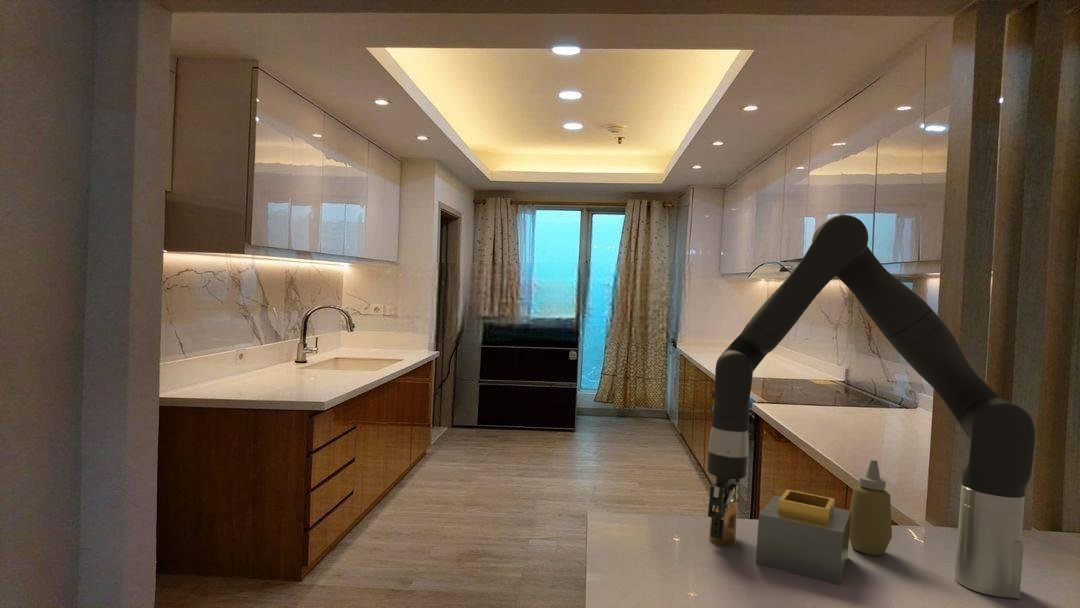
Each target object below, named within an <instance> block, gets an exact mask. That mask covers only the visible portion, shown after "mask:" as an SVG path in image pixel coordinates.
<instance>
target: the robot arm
mask: <svg viewBox="0 0 1080 608" xmlns="http://www.w3.org/2000/svg"><path fill="white" fill-rule="evenodd" d="M868 244H869V232H868V228H867V227H866V225H865V224H864V222H863V221H862V220H860V219H859V218H857V217H856V216H854V215H850V214H838V215H833V216H831V217H829V218H826V220H824V221H822V223H820V225H819V226H818V228H817V229H816V230H815V231H814V234H813V237H812V240H811V244H810V246H809V248H808V249H807V250H806V253H805V254H804V255H803V256H802V258H801V260H800V262H799V263H798V264H797V266H796V267H795V268H794V269H793V271H792V272H791V273H790V274H789V276H788V277H787V278H786V279H785V280H784V281H783V282H782V284H781V285H779V286H778V287H777V289H776V290H774V292H773V293H772V294H771V295H770V296H769V297H768V298H767V299H766V300H765V301H764V302H763V304H762V305H761V306H760V308H759V309H758V310H757V311H756V313H754V314H753V316H752V317H751V318H750V319H749V321H748V322H747V323H746V325H745V326H744V328H743V330H742V331H741V332H740V334H739V335H737V337H736V338H735V339H734V340H733V341H732V342H731V343H730V344H729V345H728V346H727V348H725V350H724V351H723V352H722V353H721V355H720V356H719V357H718V358H717V360H716V362H715V369H714V371H715V372H714V379H715V380H714V402H713V407H712V415H711V416H712V417H711V429H710V434H709V439H708V450H707V451H708V454H707V467H706V470H707V472H708V473H709V474H710V475H712V476H714V477H715V478H716V480H715V483H713V485H712V484H711V485H710V487H709V500H708V508H707V509H708V511H707V516H708V517H709V518H712V521H711V537H712V538H716V539H722V537H723V527H724V519H725V513H726V510H729V508H730V503H731V500H732V499H733V500H735V501H737V502H738V503H739V502H740V490H741V489H740V487H741V480H742V479H744V478H746V476H747V472H748V471H747V469H748V460H749V459H748V456H749V446H750V445H749V442H750V440H749V439H750V438H749V423H750V405H749V404H750V398H751V392H752V385H753V376H754V374H753V373H754V372H755V370H756V368H758V366H759V365H760V363H761V362H762V361H763V359H764V358H765V357H766V356H767V355H768V354H769V353H771V352H772V351H774V350H775V348H777V346H778V345H779V344H780V343H781V342H782V341H783V340H784V338H785V337H786V336H787V334H788V333H789V332H790V331H791V330H792V329H793V327H794V326H795V325H796V324H797V322H798V321H799V320H800V318H801V317H802V316H803V315H804V313H805V311H806V310H808V307H809V306H810V305H811V304H812V303H813V301H814V300H815V298H816V297H817V296H818V295H819V294H820V293H821V292H822V290H823V289H824V288H825V287H826V286H827V285H828V284H829V283H830V282H831V281H832V280H833V279H834V278H835V277H837V278H838V279H839V280H840V281H841V282H842V283H843V284H844V285H845V286H846V287H847V288H848V290H850V292H851V293H852V294H853V295H854V297H855V298H856V299H857V300H858V302H859V304H860V305H861V307H862V308H863V310H865V312H866V313H867V315H868V316H869V318H870V319H871V321H873V323H874V324H875V326H877V328H878V330H879V331H880V332H881V334H882V335H883V336H884V337H885V338H886V339H887V341H888V342H889V343H890V344H891V346H892V347H893V348H894V349H895V350H896V351H897V352H898V354H899V355H900V356H901V357H902V358H903V359H904V360H905V362H907V364H908V365H909V366H910V367H911V368H912V369H913V370H914V371H915V372H917V374H918V375H919V376H921V378H922V379H923V380H924V381H926V382H927V384H929V385H930V387H931V388H933V389H934V391H935V392H936V393H937V394H938V396H939V397H940V398H941V400H942V401H943V402H944V404H945V405H946V406H947V408H948V410H950V412H951V414H952V415H953V417H954V419H955V420H956V421H957V422H958V425H959V426H960V428H961V429H962V430H963V432H964V434H965V435H966V437H968V438H969V440H970V447H969V456H968V463H967V465H966V467H964V469H963V470H962V473H961V485H960V487H961V488H960V498H959V499H960V500H959V515H958V528H957V540H956V553H955V554H956V555H955V566H954V579H955V581H956V582H957V583H958V584H960V585H961V586H963V587H965V588H967V589H970V590H972V591H975V592H977V593H981V594H983V595H987V596H993V597H998V598H1012V599H1017V600H1020V599H1021V598H1020V597H1021V588H1022V587H1021V584H1022V573H1023V561H1024V560H1023V559H1024V547H1025V546H1024V542H1023V540H1022V539H1023V529H1024V528H1023V526H1024V525H1023V524H1024V510H1025V500H1026V499H1025V496H1026V488H1027V485H1028V484H1029V482H1030V479H1031V477H1032V470H1033V462H1034V455H1035V453H1034V452H1035V444H1036V429H1035V428H1036V427H1035V424H1034V420H1033V419H1032V417H1031V415H1030V414H1029V413H1028V412H1027V411H1026V410H1025V409H1024V408H1022V407H1021V406H1020V405H1017V404H1015V403H1012V402H1009V401H1007V400H1005V399H1004V398H1003V397H1001V396H1000V395H998V393H996V392H995V391H994V390H993V389H992V388H991V387H990V386H989V385H988V384H987V383H986V382H985V381H984V380H983V379H982V378H981V377H980V376H979V375H978V374H977V372H976V371H975V370H974V368H972V366H971V364H970V363H969V362H968V360H967V358H966V356H965V354H964V352H963V350H962V348H961V347H960V345H959V343H958V341H957V340H956V337H955V336H954V335H953V333H952V332H951V330H950V329H949V327H948V326H947V325H946V324H945V323H944V321H943V320H942V319H941V318H940V316H938V314H937V313H936V312H935V311H934V309H932V307H931V306H930V305H929V304H928V303H927V302H926V301H925V300H924V299H923V298H922V297H920V296H919V295H918V294H917V293H916V292H914V291H913V290H912V289H910V287H908V286H907V285H906V284H904V283H903V282H901V281H900V280H899V279H898V278H897V277H895V276H894V275H893V274H892V273H890V272H889V271H888V270H887V269H886V268H885V267H884V266H883V264H882V263H881V262H880V260H878V258H877V256H875V255H874V253H873V252H872V251H871V249H870V248H869V246H868ZM716 498H717V499H716ZM716 508H719V512H715V511H716Z"/></svg>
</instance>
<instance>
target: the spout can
mask: <svg viewBox="0 0 1080 608" xmlns="http://www.w3.org/2000/svg"><path fill="white" fill-rule="evenodd" d="M716 499H717V498H716ZM738 504H739V502H737V501H735V500H733V499H732V500H731V503H730V508H729V510H726V513H725V519H724V527H723V537H722V539H716V538H712V537H711V521H712V518H711V517H709V519H710V521H709V532H708V533H709V535H708V536H709V537H708V540H709V542H711V543H712V544H715V545H718V546H723V547H732V546H735V544H736V536H737V533H736V532H737V521H738V506H739V505H738ZM715 512H719V508H716V511H715Z"/></svg>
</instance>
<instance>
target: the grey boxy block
mask: <svg viewBox="0 0 1080 608" xmlns="http://www.w3.org/2000/svg"><path fill="white" fill-rule="evenodd" d="M850 518H851V511H850V509H845V508H839V507H835V498H832V497H829V496H828V497H827V496H822V495H819V494H818V495H816V494H812V493H806V492H802V491H798V490H791V489H786V490H785V491H784V492H783V494H782V495H781V496H780V495H774V496H773V497H772V498H771V499H770V501H769V502H768V503H767V504H766V505H765V506H764V508H763V509H762V510H761V512H759V514H758V523H757V539H756V552H755V553H756V555H755V564H758V565H761V564H762V566H766V567H770V568H773V569H778V570H780V571H781V570H782V571H785V572H788V573H792V572H793V573H794V574H796V573H797V574H796V575H800V576H804V577H808V576H809V578H812V579H815V578H817V579H816V580H819V579H820V581H823V580H824V581H823V582H827V581H828V582H827V583H831V584H835V585H840V583H841V580H842V577H843V574H844V572H845V571H844V570H845V568H846V565H845V564H847V561H848V558H847V557H849V546H850V543H849V542H850V539H849V532H850ZM844 567H845V568H844ZM793 573H792V574H793Z"/></svg>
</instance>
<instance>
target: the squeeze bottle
mask: <svg viewBox="0 0 1080 608" xmlns="http://www.w3.org/2000/svg"><path fill="white" fill-rule="evenodd" d="M867 467H868V468H867V471H866V474H865V475H860V476H859V480H858V481H859V482H858V484H859V485H858V486H855V487H854V488H853V490H852V491H853V492H852V497H851V502H850V507H849V511H851V518H850V532H849V542H850V545H851V548H852V547H853V548H854V549H853V548H852V549H853V550H855V551H857V550H858V551H857V552H859V551H860V553H862V554H866V555H871V556H881V555H884V554H886V553H885V552H886V550H887V548H888V546H889V544H890V542H891V540H892V537H893V529H892V528H893V527H892V506H891V504H892V503H891V494H890V493H889V492H888V491H887V490H885V489H887V488H886V487H887V486H886V485H887V481H886V480H885V479H883V478H881V475H880V469H879V463H878V460H876V459H870V461H869V465H868V466H867Z"/></svg>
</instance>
